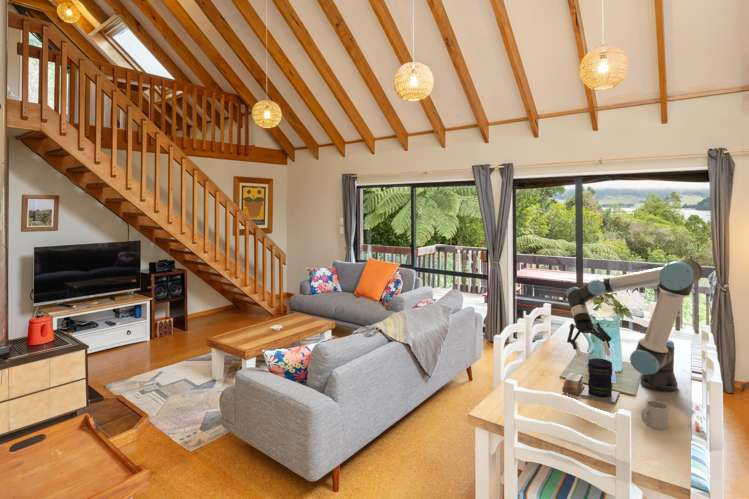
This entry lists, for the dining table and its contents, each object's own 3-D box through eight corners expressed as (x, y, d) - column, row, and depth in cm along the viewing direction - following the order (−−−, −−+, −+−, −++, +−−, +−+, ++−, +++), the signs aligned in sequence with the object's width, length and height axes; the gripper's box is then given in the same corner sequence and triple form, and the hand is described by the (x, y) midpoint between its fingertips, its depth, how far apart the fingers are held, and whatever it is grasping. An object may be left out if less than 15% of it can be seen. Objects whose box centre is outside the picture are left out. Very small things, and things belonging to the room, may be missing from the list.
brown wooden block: (584, 387, 208) (584, 374, 207) (578, 396, 199) (578, 382, 198) (568, 384, 212) (568, 371, 212) (562, 392, 203) (562, 379, 203)
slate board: (619, 394, 199) (619, 392, 199) (614, 404, 190) (614, 401, 190) (586, 387, 208) (586, 385, 208) (580, 396, 198) (580, 394, 198)
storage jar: (584, 393, 199) (584, 362, 197) (592, 386, 206) (592, 356, 204) (608, 399, 192) (608, 367, 190) (615, 392, 199) (615, 361, 197)
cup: (672, 429, 167) (672, 408, 167) (647, 431, 167) (648, 409, 166) (658, 420, 175) (659, 399, 174) (635, 422, 174) (635, 401, 173)
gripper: (604, 318, 218) (618, 357, 204) (553, 320, 219) (564, 359, 206) (609, 311, 212) (624, 351, 198) (557, 312, 213) (569, 352, 200)
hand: (594, 355), depth 202 cm, fingers open, 13 cm apart
